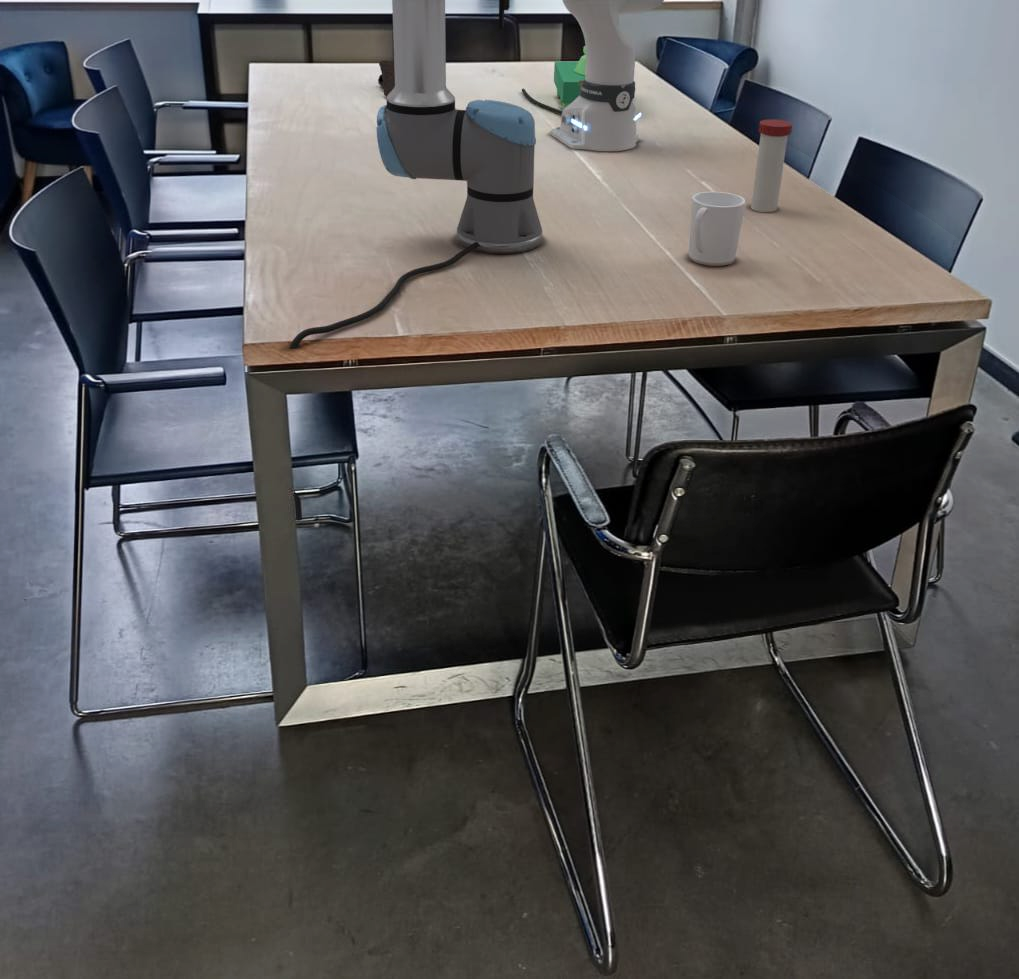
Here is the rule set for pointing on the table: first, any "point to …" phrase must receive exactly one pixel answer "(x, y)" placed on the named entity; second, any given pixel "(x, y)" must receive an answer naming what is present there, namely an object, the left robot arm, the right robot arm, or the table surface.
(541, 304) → the table surface
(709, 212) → the mug
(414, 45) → the left robot arm
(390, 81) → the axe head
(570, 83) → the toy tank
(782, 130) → the lid
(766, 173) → the jar
